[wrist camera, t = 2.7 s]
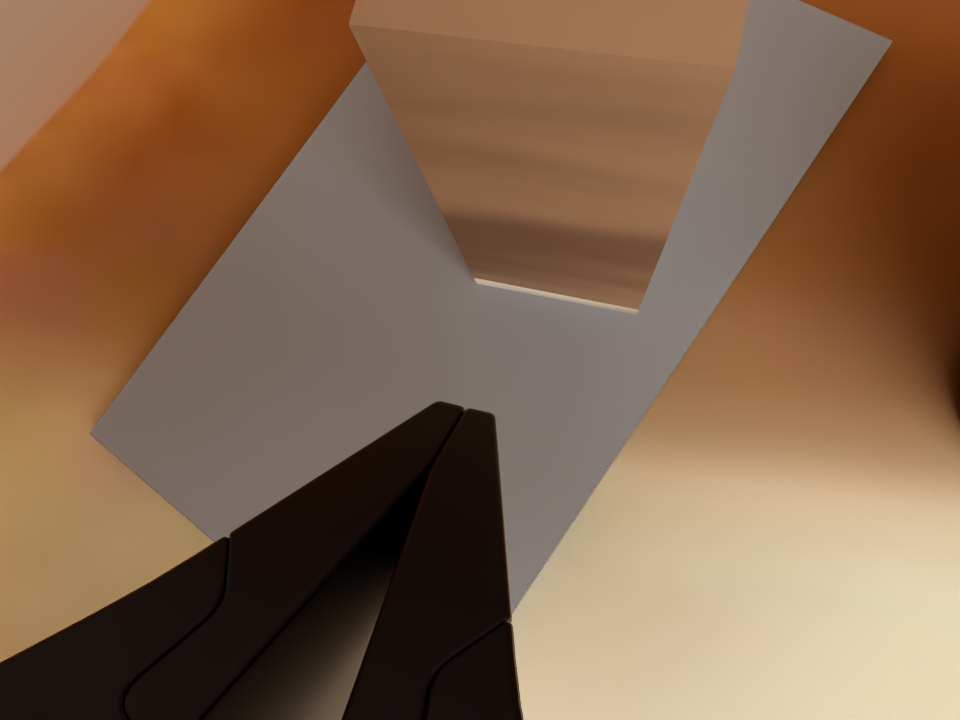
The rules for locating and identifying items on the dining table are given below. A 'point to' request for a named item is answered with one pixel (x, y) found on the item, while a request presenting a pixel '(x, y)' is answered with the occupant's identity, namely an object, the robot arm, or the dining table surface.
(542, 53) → the walnut block
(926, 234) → the dining table surface
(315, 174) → the rubber mat
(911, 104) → the dining table surface
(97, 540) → the dining table surface
